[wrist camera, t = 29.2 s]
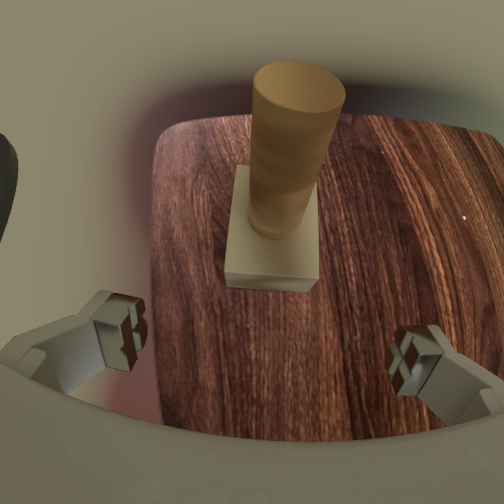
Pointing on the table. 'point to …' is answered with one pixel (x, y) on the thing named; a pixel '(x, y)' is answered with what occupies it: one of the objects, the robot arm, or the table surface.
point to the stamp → (282, 179)
